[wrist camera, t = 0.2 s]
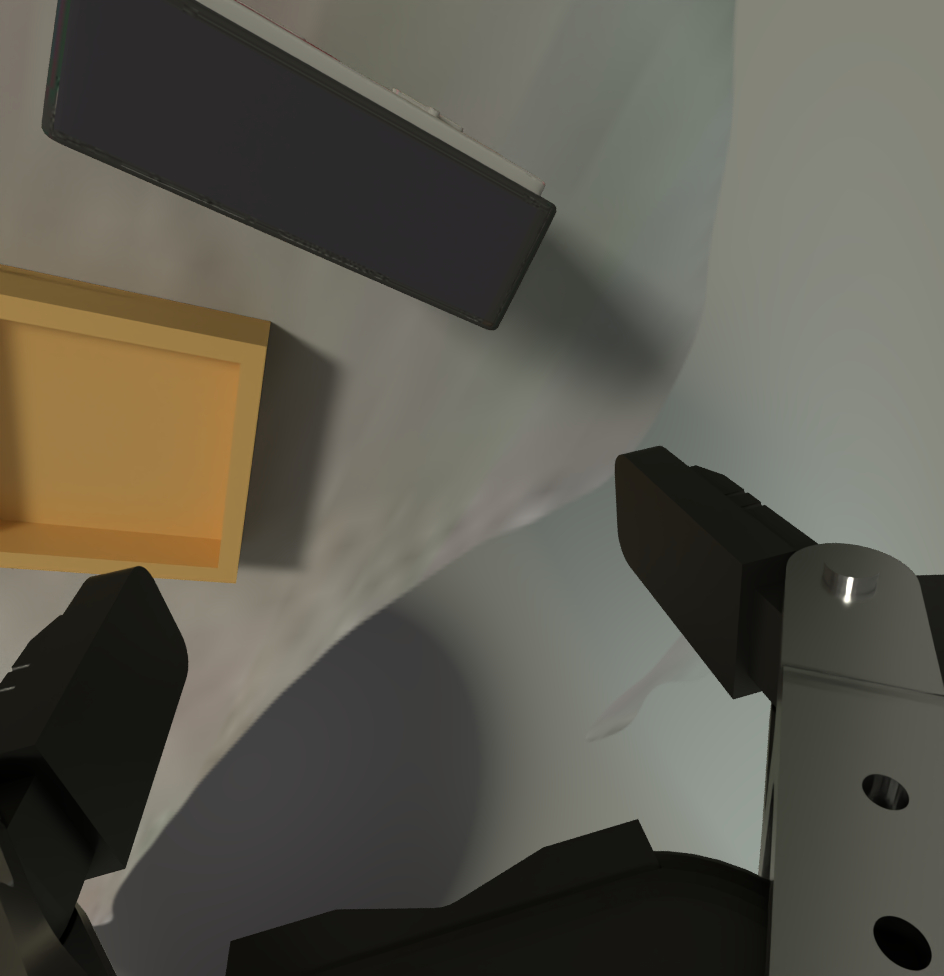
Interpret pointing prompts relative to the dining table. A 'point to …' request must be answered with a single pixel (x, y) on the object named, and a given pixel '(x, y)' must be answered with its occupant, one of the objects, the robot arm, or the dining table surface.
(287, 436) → the dining table surface
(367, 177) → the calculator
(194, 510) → the parts tray
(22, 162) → the dining table surface
